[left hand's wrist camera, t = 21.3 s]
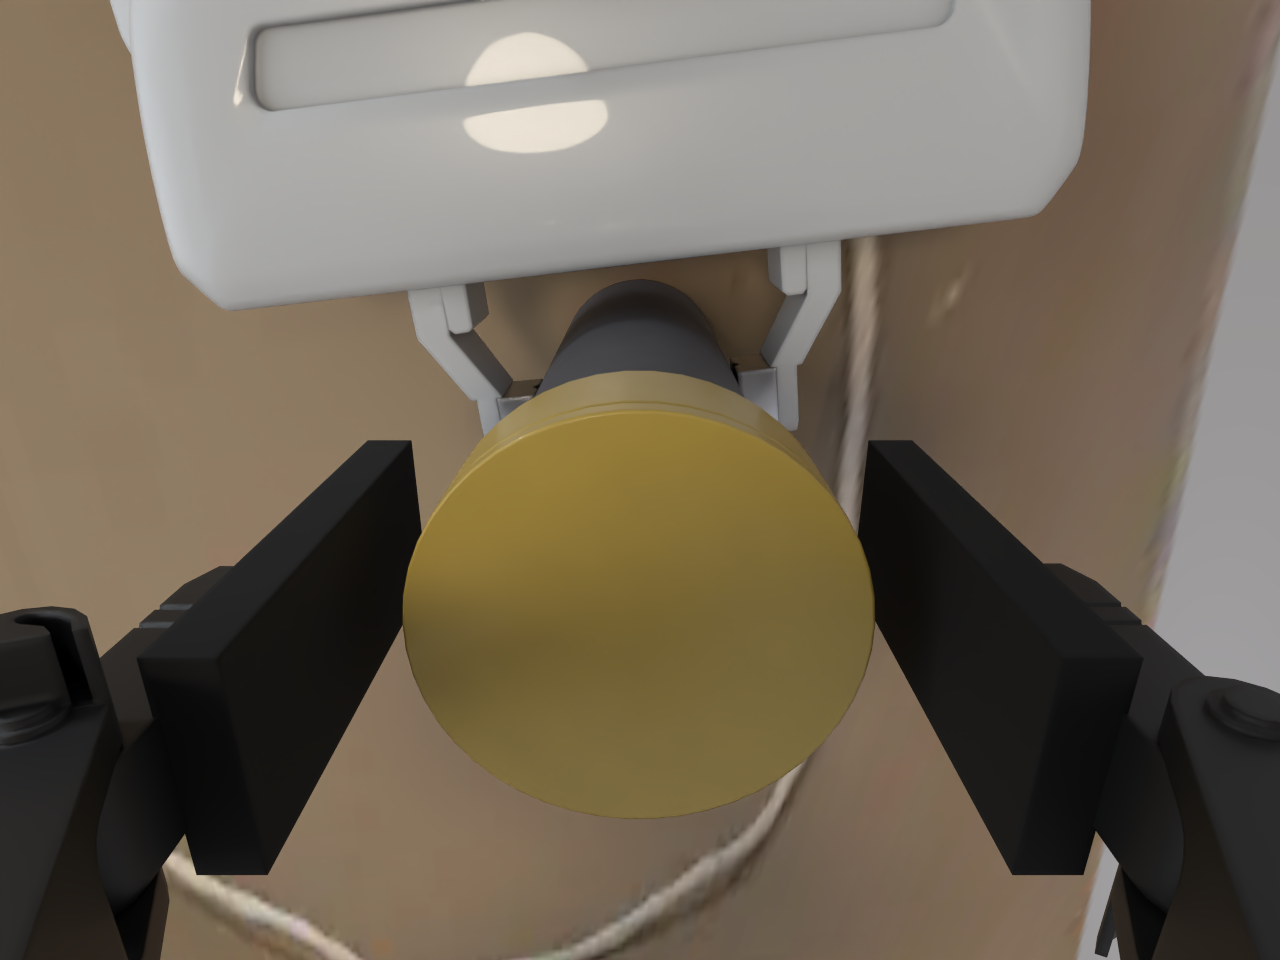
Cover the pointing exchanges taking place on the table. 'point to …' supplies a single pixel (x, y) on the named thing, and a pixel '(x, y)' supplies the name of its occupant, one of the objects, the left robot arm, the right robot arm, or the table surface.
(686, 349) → the dark grey cylinder
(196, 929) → the table surface
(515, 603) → the lid
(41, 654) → the left robot arm
